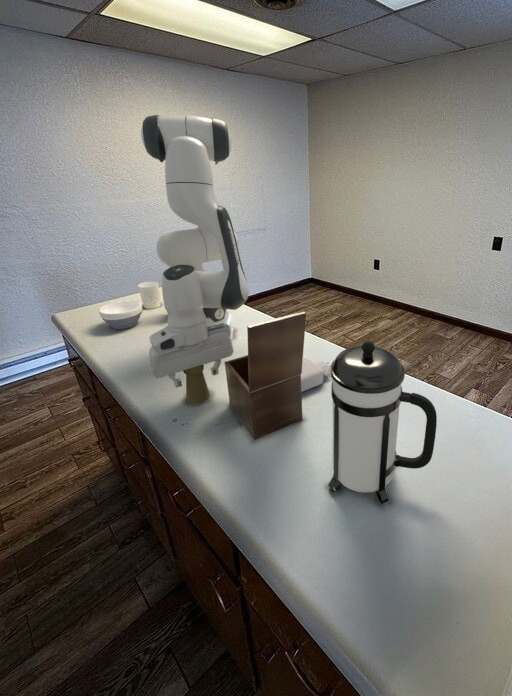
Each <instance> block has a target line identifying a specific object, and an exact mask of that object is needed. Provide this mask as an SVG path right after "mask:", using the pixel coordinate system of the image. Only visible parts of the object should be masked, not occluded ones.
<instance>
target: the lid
mask: <svg viewBox="0 0 512 696" xmlns="http://www.w3.org/2000/svg"><path fill="white" fill-rule="evenodd" d="M306 321H307V313H306V311H300V312H296V313H293V314H289V315H285V316H281V317H277V318H273V319H269V320H265V321H261V322H257V323H254V324H253V323H252V324H249V325H247V327H246V328H247V329H246V331H247V355H248V378H249V391H250V392H253V391H255V390H258V389H261V388H264V387H267V386H269V385H272V384H275V383H278V382H280V381H283V380H286V379H289V378H292V377H294V376H297V375H300V374H302V362H303V359H304V349H305V348H304V346H305V334H306V333H305V332H306Z"/></svg>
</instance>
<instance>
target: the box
mask: <svg viewBox="0 0 512 696" xmlns="http://www.w3.org/2000/svg"><path fill="white" fill-rule="evenodd" d="M224 367H225V378H226V385H227V393H228V401H229V406H230V407H231V409H232V410H233V412H234V413H235V414H236V416H237V417H238V420H239V421H240V422H241V423H242V425H243V426H244V427H245V429H246V431H247V432H248V434H249V436H251V438H252V439H253V441H257V440H259V439H262V438H265V437H266V436H268V435H270V434H273V433H275V432H277V431H280V430H283V429H284V428H287V427H289V426H291V425H294V424H296V423H298V422H300V421H302V420H303V399H302V398H303V397H302V396H303V395H302V393H303V392H301V374H300V375H297V376H294V377H292V378H289V379H286V380H283V381H280V382H278V383H275V384H272V385H269V386H267V387H264V388H261V389H258V390H255V391H253V392H250V391H249V378H248V354H246V355H243V356H239V357H237V358H233V359H230V360H226V361H224Z"/></svg>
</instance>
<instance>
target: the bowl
mask: <svg viewBox="0 0 512 696" xmlns="http://www.w3.org/2000/svg"><path fill="white" fill-rule="evenodd" d="M143 309H144V307H143V303H142V301H139V300H135V299H125V300H118V301H113V302H109V303H107V304H104V305H103V306H101V307H100V308H99V309H98V313H99V317H100V318H101V319H102V320H103V321H104V322H105V323H106V324H107V325H108V326H110V327H111V328H112V329H116V330H125V329H128V328H132V327H134V326H135V325H137V324H138V322H139V320H140V319H141V316H142V313H143Z"/></svg>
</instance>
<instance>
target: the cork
mask: <svg viewBox="0 0 512 696" xmlns="http://www.w3.org/2000/svg"><path fill="white" fill-rule="evenodd" d="M204 370H205V364H203V365H200V366H197V367H193V368H190V369H187V370H184V371H182V372H183V373H184V375H185V400H186V403H188V404H190V405H198V404H199V405H200V404H202V403H205V402H207V401H208V400H209V399H210V397H211V394H210V391H209V387H208V384H207V381H206V378H205V375H204V372H203V371H204Z"/></svg>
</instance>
